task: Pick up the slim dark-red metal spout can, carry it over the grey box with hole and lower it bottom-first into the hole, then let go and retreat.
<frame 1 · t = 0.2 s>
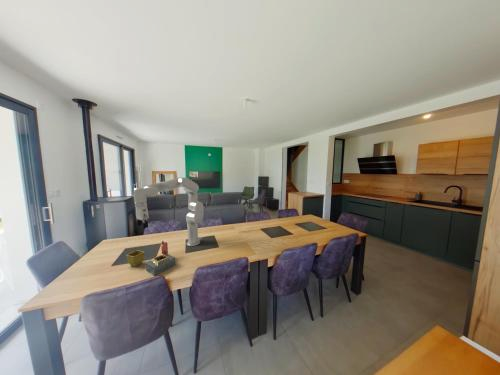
hand: (142, 226, 127), 30 cm above the table, fingers open, 9 cm apart
flower pot: (136, 264, 131), on the table
grey box with hole: (161, 267, 126), on the table
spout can: (165, 258, 139), on the table
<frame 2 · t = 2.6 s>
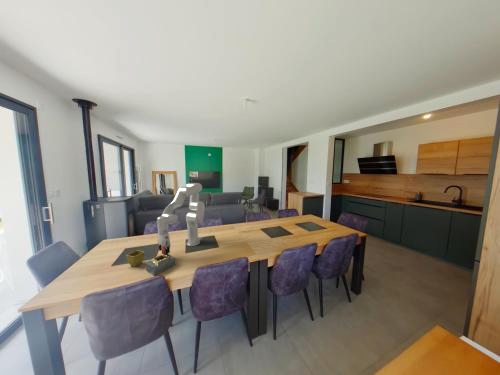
hand: (164, 251, 138), 6 cm above the table, fingers open, 9 cm apart
nothing on the table moved.
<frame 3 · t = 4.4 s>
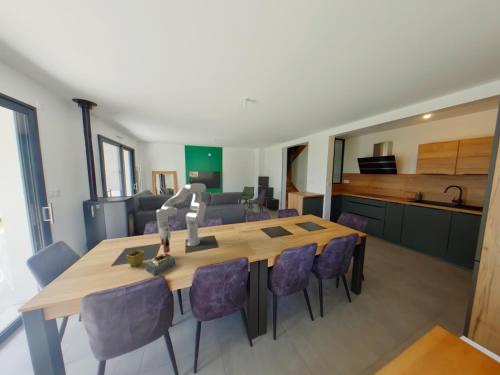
hand: (165, 244, 138), 11 cm above the table, fingers closed on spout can, 4 cm apart
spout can: (166, 251, 140), point 5 cm above the table, touching gripper
everything else where it was.
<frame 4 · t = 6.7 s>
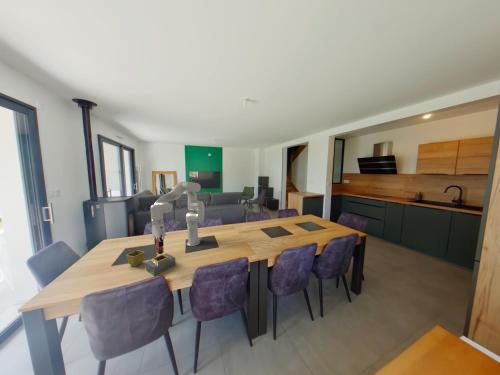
hand: (159, 245, 124), 17 cm above the table, fingers closed on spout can, 4 cm apart
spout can: (160, 252, 125), point 11 cm above the table, touching gripper
everything else where it was.
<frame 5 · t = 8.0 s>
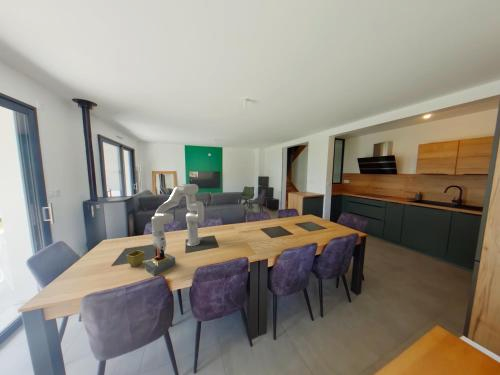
hand: (160, 256, 125), 9 cm above the table, fingers closed on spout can, 4 cm apart
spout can: (161, 263, 126), point 3 cm above the table, touching gripper
everything else where it was.
when the fingers open (8 cm above the table, at t = 9.0 s): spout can stays where it is, resting on grey box with hole.
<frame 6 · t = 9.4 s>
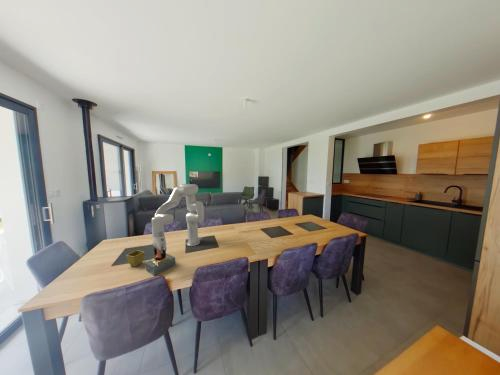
hand: (160, 255, 125), 9 cm above the table, fingers open, 9 cm apart
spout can: (161, 264, 126), point 2 cm above the table, touching grey box with hole
everything else where it was.
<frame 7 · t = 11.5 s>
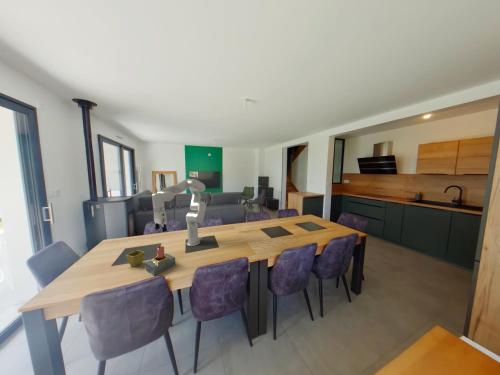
hand: (161, 230, 131), 26 cm above the table, fingers open, 9 cm apart
nothing on the table moved.
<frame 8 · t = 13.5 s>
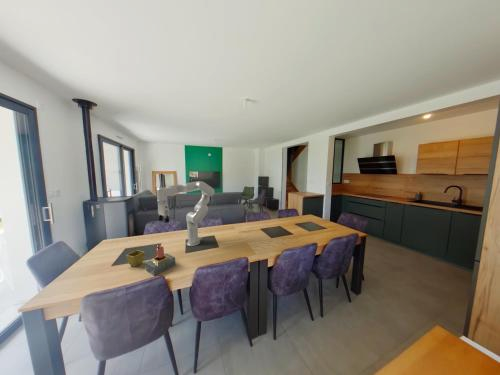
hand: (164, 221, 146), 28 cm above the table, fingers open, 9 cm apart
nothing on the table moved.
at the end: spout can 0.8 cm off-centre on the grey box with hole, point 2.0 cm above the grey box with hole's base; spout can tilted 1°; the gripper is holding nothing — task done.
